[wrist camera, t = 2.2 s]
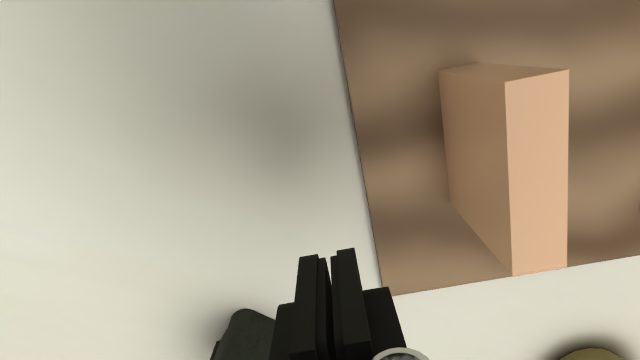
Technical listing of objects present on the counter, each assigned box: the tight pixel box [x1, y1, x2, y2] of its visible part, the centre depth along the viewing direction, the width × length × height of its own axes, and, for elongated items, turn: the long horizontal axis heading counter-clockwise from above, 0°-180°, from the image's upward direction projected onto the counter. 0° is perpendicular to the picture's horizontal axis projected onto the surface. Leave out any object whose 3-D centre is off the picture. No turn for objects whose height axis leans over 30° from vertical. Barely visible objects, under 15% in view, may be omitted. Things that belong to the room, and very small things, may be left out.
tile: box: [438, 62, 569, 277], centre depth 18 cm, size 8×2×8 cm, turn 11°
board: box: [333, 0, 640, 296], centre depth 22 cm, size 20×21×1 cm
